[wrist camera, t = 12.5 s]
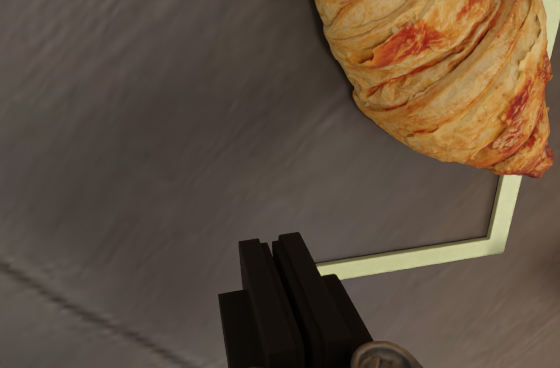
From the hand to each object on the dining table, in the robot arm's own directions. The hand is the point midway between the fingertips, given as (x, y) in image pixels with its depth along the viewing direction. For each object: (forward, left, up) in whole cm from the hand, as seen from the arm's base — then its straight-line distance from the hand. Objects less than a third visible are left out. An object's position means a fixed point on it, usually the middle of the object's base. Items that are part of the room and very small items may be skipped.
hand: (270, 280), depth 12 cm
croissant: (+12, +3, -15) cm, 20 cm away
